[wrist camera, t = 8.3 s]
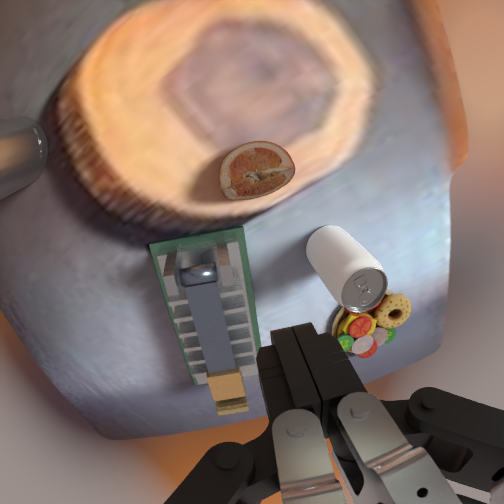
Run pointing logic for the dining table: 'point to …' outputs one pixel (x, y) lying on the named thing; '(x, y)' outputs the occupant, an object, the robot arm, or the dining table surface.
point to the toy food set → (371, 325)
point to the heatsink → (231, 292)
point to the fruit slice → (255, 170)
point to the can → (346, 269)
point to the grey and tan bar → (212, 330)
